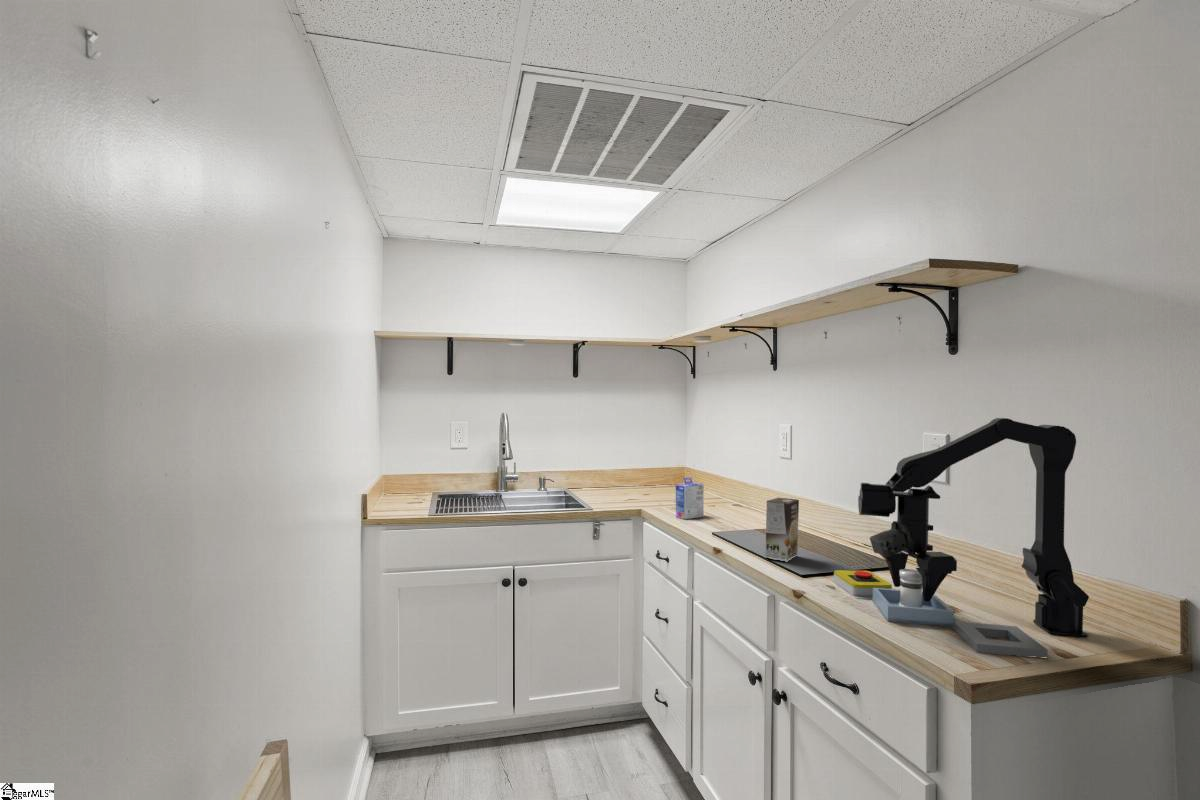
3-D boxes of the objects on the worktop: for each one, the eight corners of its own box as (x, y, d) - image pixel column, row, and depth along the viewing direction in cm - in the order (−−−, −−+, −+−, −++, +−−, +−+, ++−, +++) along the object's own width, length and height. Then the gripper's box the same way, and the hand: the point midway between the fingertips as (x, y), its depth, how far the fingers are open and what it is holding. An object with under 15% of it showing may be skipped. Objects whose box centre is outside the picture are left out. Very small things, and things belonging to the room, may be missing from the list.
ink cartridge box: (694, 514, 225) (694, 476, 225) (704, 517, 220) (705, 478, 220) (674, 517, 219) (675, 478, 219) (684, 519, 215) (685, 479, 214)
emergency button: (856, 581, 131) (828, 562, 146) (856, 601, 131) (828, 580, 146) (897, 581, 132) (865, 563, 147) (897, 601, 132) (865, 580, 147)
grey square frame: (1016, 634, 113) (1016, 626, 113) (1047, 658, 102) (1047, 650, 102) (952, 628, 115) (953, 620, 115) (976, 652, 104) (977, 643, 104)
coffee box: (787, 563, 159) (789, 503, 159) (764, 559, 163) (765, 500, 163) (798, 556, 167) (799, 499, 167) (775, 552, 171) (776, 496, 171)
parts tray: (932, 606, 128) (932, 592, 128) (953, 626, 116) (954, 611, 116) (872, 601, 130) (872, 587, 130) (887, 621, 118) (887, 606, 118)
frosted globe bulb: (918, 607, 125) (919, 569, 125) (925, 615, 120) (926, 575, 120) (896, 606, 125) (896, 568, 125) (902, 613, 121) (903, 574, 121)
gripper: (851, 510, 131) (849, 581, 131) (906, 529, 112) (905, 611, 112) (897, 509, 133) (896, 579, 133) (959, 528, 114) (958, 609, 114)
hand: (911, 593), depth 123 cm, fingers open, 9 cm apart
